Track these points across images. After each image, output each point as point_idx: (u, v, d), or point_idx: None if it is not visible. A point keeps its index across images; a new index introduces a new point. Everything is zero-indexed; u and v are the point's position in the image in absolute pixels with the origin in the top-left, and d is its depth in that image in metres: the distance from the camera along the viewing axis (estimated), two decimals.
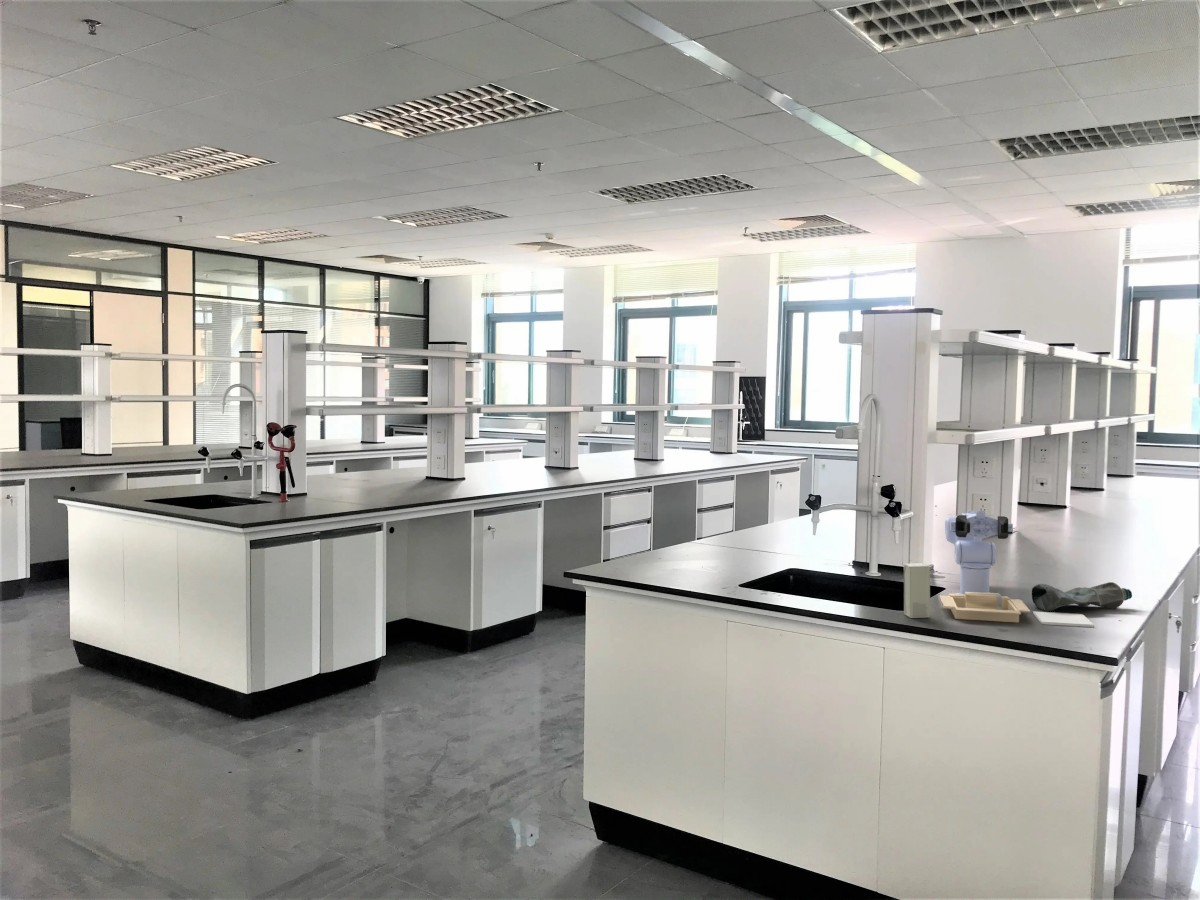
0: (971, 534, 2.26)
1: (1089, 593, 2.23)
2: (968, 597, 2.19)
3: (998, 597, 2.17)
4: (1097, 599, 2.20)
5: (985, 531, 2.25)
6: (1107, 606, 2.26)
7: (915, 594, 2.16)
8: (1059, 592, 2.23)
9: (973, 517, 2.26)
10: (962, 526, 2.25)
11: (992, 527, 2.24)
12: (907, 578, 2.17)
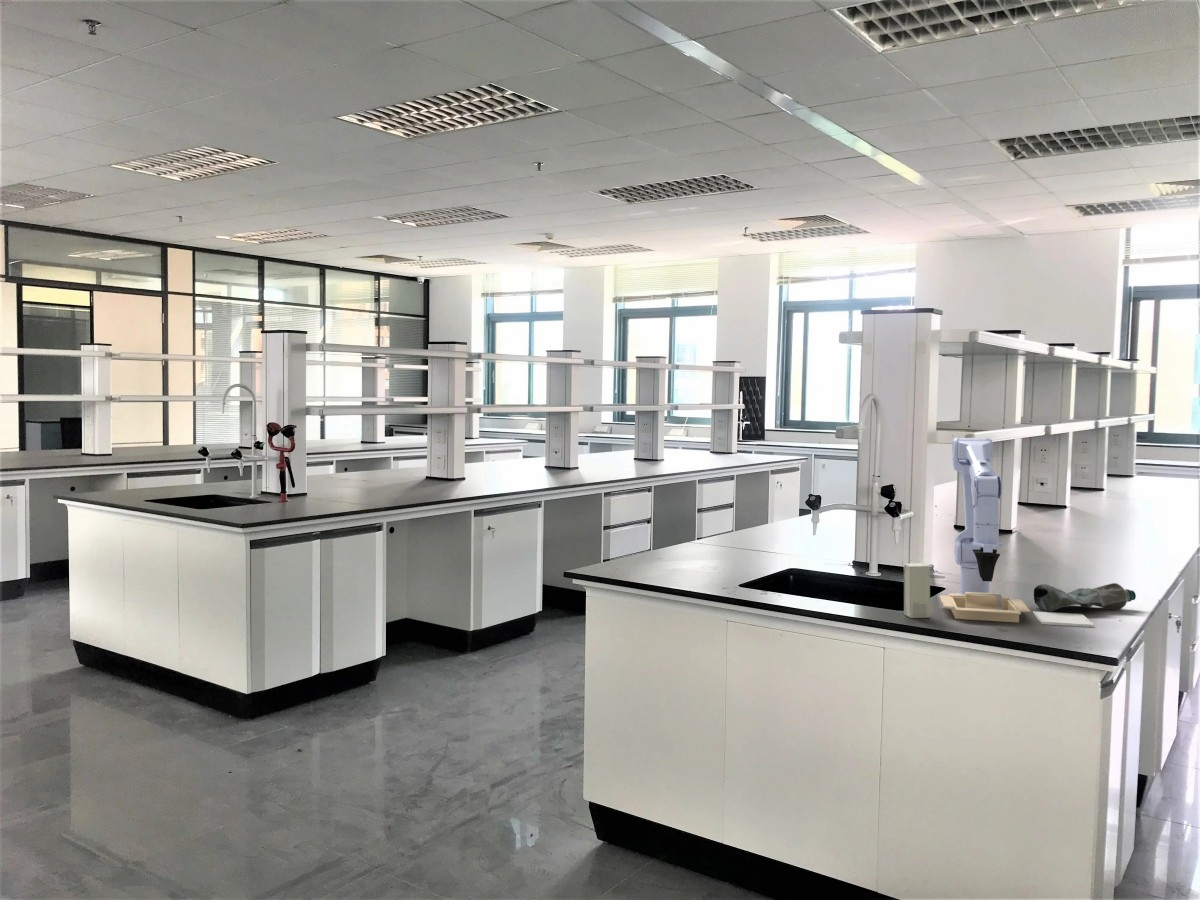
0: (977, 545, 2.18)
1: (1091, 594, 2.22)
2: (968, 597, 2.19)
3: (998, 597, 2.17)
4: (1099, 600, 2.19)
5: None
6: (1110, 607, 2.25)
7: (915, 594, 2.16)
8: (1061, 593, 2.22)
9: (996, 546, 2.17)
10: None
11: None
12: (907, 578, 2.17)
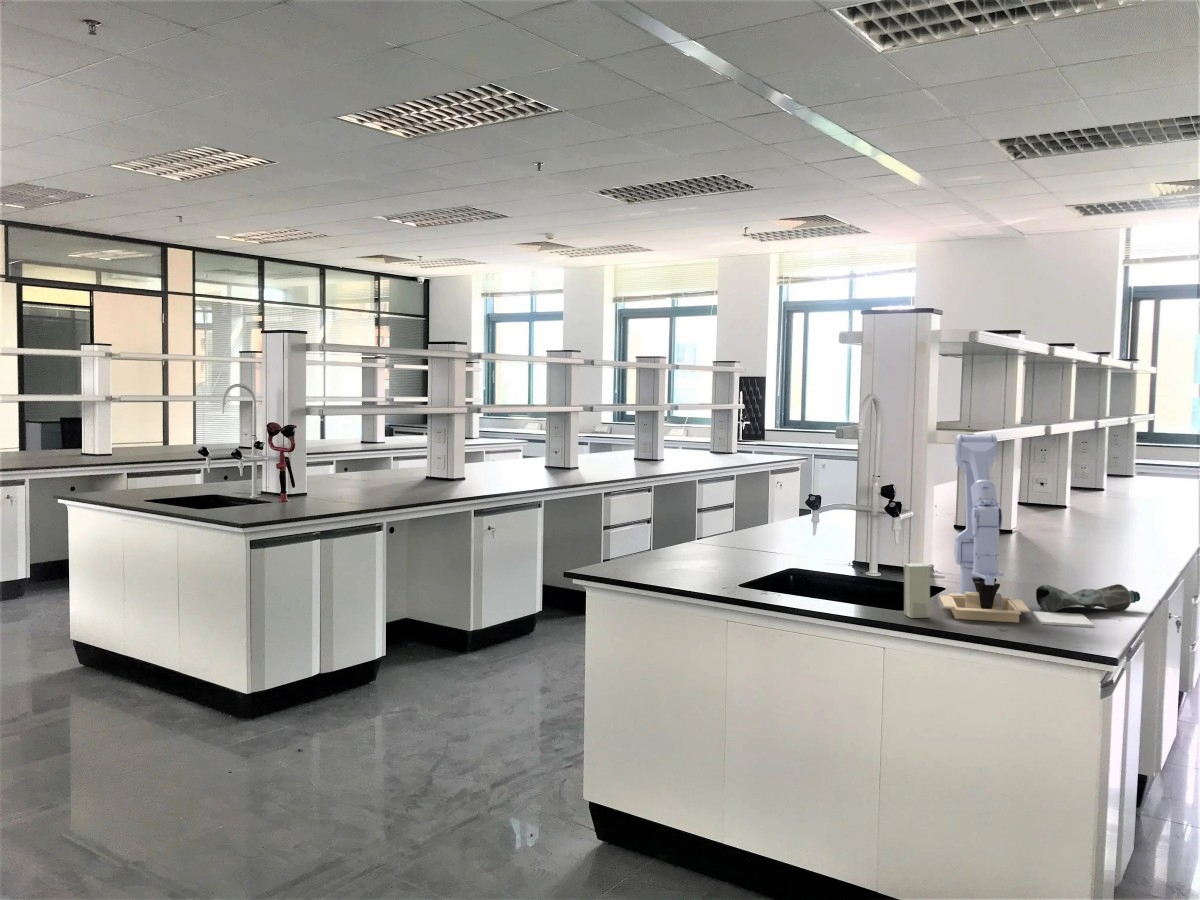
0: (977, 576, 2.18)
1: (1094, 595, 2.21)
2: (968, 597, 2.19)
3: (998, 597, 2.17)
4: (1102, 601, 2.18)
5: None
6: (1114, 608, 2.24)
7: (915, 594, 2.16)
8: (1063, 594, 2.21)
9: (996, 576, 2.17)
10: (987, 585, 2.17)
11: None
12: (907, 578, 2.17)
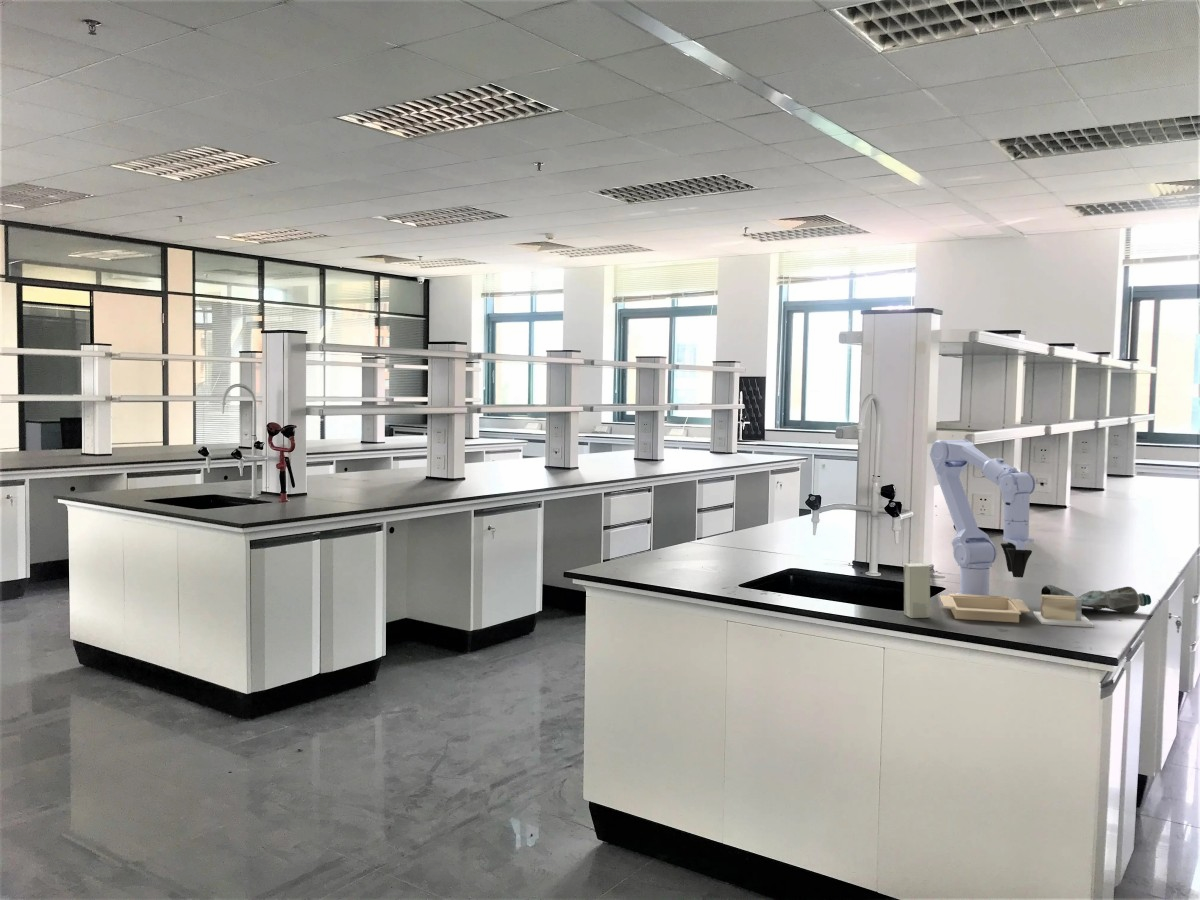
0: (1008, 541, 2.21)
1: (1100, 596, 2.19)
2: (1046, 600, 2.13)
3: (1077, 600, 2.11)
4: (1105, 602, 2.17)
5: None
6: (1123, 611, 2.21)
7: (915, 594, 2.16)
8: (1066, 594, 2.21)
9: None
10: None
11: None
12: (907, 578, 2.17)
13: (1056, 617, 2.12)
